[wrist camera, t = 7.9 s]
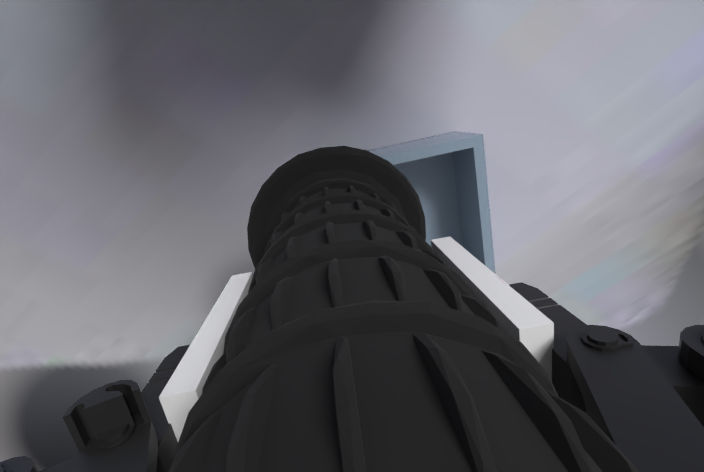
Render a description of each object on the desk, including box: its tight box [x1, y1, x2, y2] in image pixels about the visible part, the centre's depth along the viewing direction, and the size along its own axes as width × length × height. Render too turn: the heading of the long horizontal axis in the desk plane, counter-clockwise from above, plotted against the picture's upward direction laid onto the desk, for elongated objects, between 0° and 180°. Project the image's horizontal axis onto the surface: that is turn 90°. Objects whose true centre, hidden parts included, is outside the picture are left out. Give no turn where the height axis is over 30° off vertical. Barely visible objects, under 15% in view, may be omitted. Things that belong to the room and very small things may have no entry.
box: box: [369, 132, 495, 273], centre depth 32 cm, size 15×15×6 cm
